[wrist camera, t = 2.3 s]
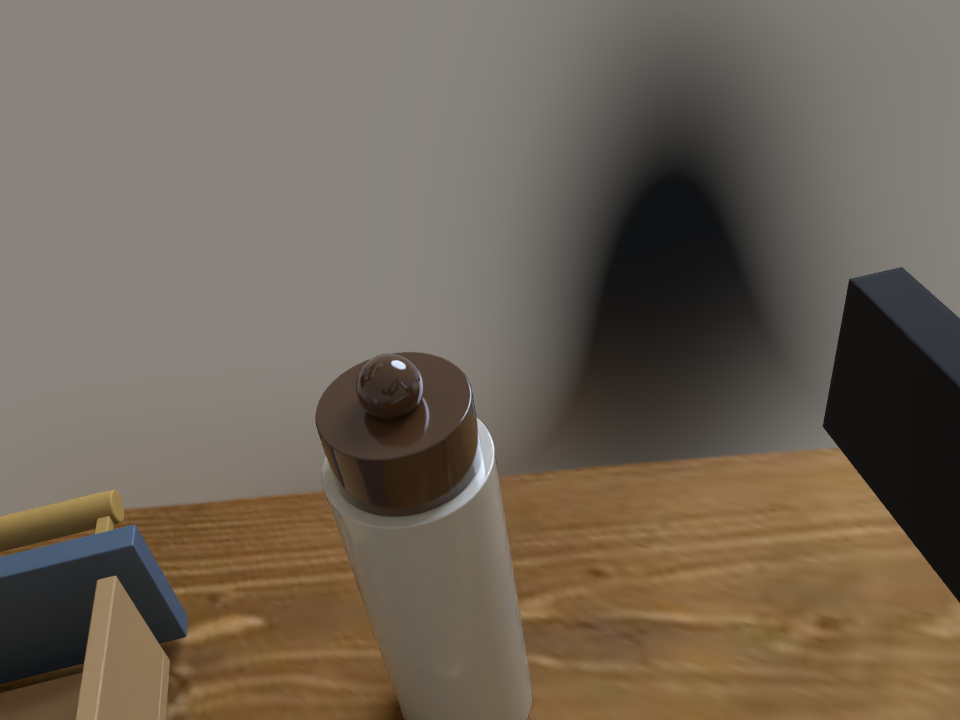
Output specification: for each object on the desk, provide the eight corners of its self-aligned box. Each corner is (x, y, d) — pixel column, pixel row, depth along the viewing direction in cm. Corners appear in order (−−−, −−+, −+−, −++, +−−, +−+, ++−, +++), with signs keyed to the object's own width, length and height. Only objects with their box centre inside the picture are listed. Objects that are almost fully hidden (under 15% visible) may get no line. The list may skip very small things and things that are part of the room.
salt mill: (514, 624, 40) (458, 288, 28) (548, 739, 35) (498, 400, 24) (393, 655, 39) (284, 327, 27) (412, 777, 35) (292, 449, 23)
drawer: (-52, 598, 44) (-127, 510, 40) (192, 538, 45) (145, 446, 41) (-206, 1087, 29) (-354, 1029, 24) (168, 979, 30) (88, 906, 25)
